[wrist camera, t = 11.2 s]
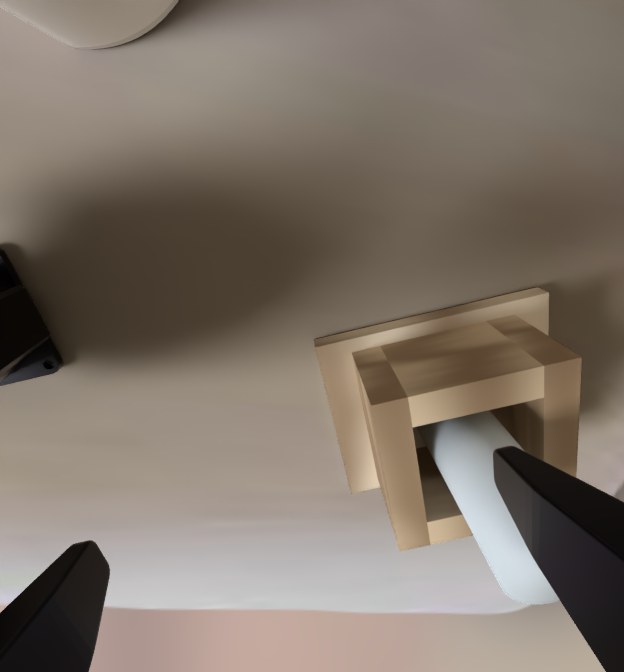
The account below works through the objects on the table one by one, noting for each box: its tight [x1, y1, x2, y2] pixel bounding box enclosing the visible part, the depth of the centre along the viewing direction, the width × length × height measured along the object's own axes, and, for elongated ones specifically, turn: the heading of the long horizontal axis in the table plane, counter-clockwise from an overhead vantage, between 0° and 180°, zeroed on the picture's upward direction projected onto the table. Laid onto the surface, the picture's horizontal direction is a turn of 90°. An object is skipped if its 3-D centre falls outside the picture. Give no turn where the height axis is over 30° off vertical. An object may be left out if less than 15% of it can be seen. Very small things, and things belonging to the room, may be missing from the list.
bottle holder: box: [314, 287, 582, 551], centre depth 20 cm, size 12×10×6 cm
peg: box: [417, 410, 559, 604], centre depth 18 cm, size 4×4×10 cm
